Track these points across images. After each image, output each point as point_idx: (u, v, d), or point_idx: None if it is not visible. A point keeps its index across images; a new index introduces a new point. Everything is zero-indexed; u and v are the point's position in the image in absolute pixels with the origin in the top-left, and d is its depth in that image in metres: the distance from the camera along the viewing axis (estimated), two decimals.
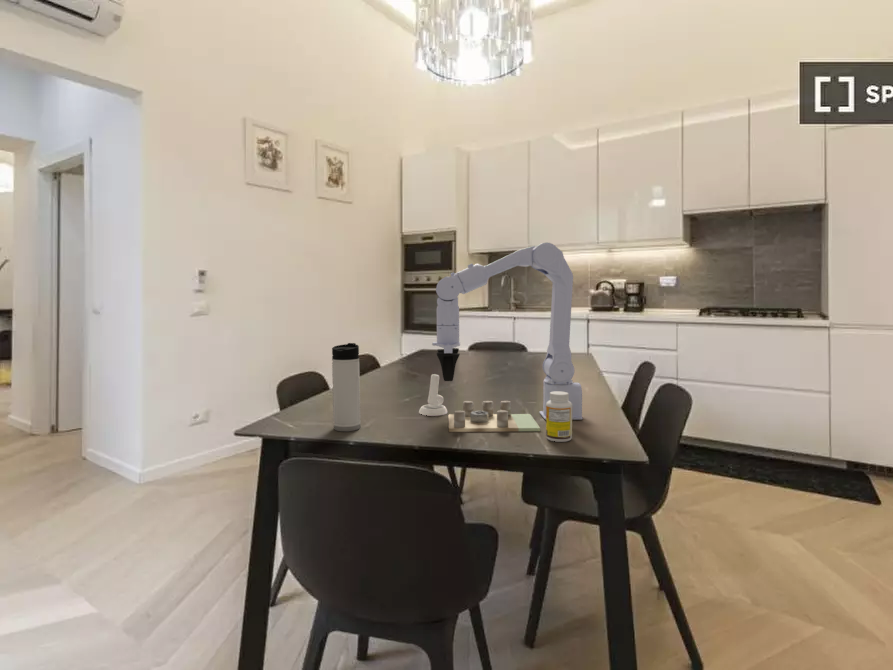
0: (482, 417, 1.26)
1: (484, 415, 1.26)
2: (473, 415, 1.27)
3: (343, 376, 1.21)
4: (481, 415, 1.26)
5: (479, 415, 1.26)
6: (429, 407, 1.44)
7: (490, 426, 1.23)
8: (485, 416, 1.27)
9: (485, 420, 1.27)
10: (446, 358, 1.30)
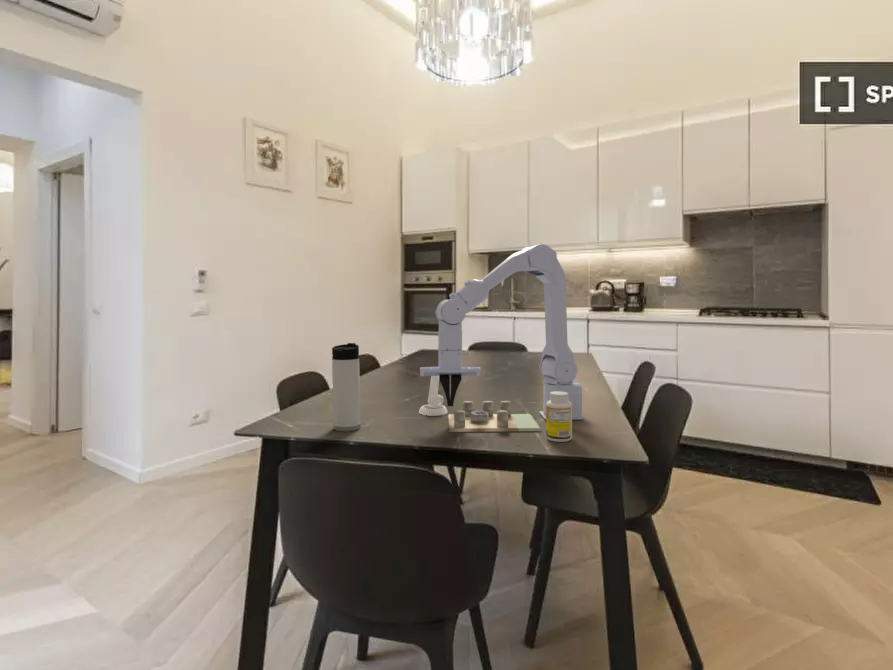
0: (482, 417, 1.26)
1: (484, 415, 1.26)
2: (473, 415, 1.27)
3: (343, 376, 1.21)
4: (481, 415, 1.26)
5: (479, 415, 1.26)
6: (429, 407, 1.44)
7: (490, 426, 1.23)
8: (485, 416, 1.27)
9: (485, 420, 1.27)
10: None
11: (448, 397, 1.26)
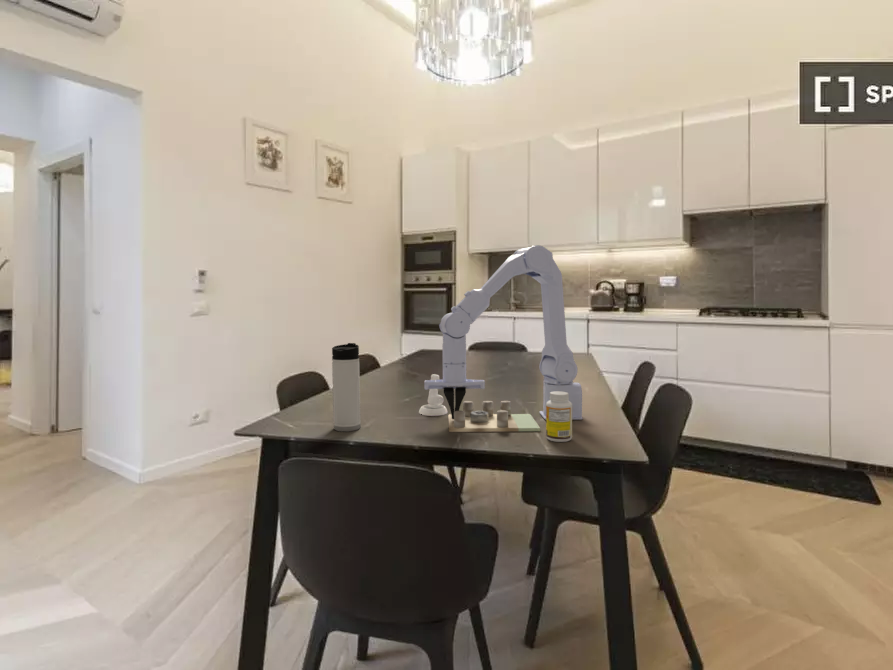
0: (482, 417, 1.26)
1: (484, 415, 1.26)
2: (473, 415, 1.27)
3: (343, 376, 1.21)
4: (481, 415, 1.26)
5: (479, 415, 1.26)
6: (429, 407, 1.44)
7: (490, 426, 1.23)
8: (485, 416, 1.27)
9: (485, 420, 1.27)
10: None
11: (452, 410, 1.27)
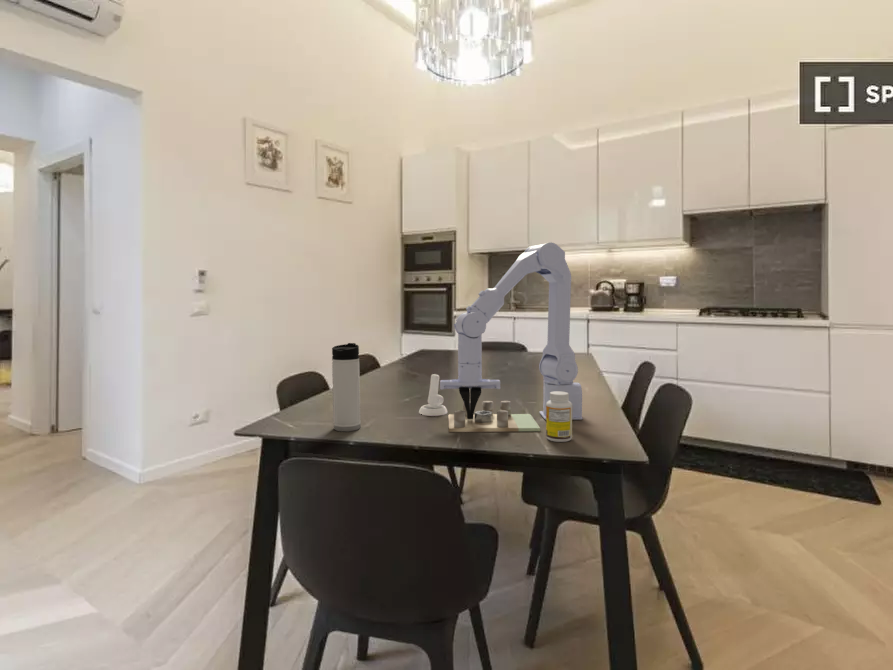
0: (486, 417, 1.26)
1: (488, 415, 1.26)
2: (477, 415, 1.27)
3: (343, 376, 1.21)
4: (485, 415, 1.26)
5: (483, 415, 1.26)
6: (429, 407, 1.44)
7: (490, 426, 1.23)
8: (489, 416, 1.27)
9: (489, 420, 1.27)
10: None
11: (468, 410, 1.27)
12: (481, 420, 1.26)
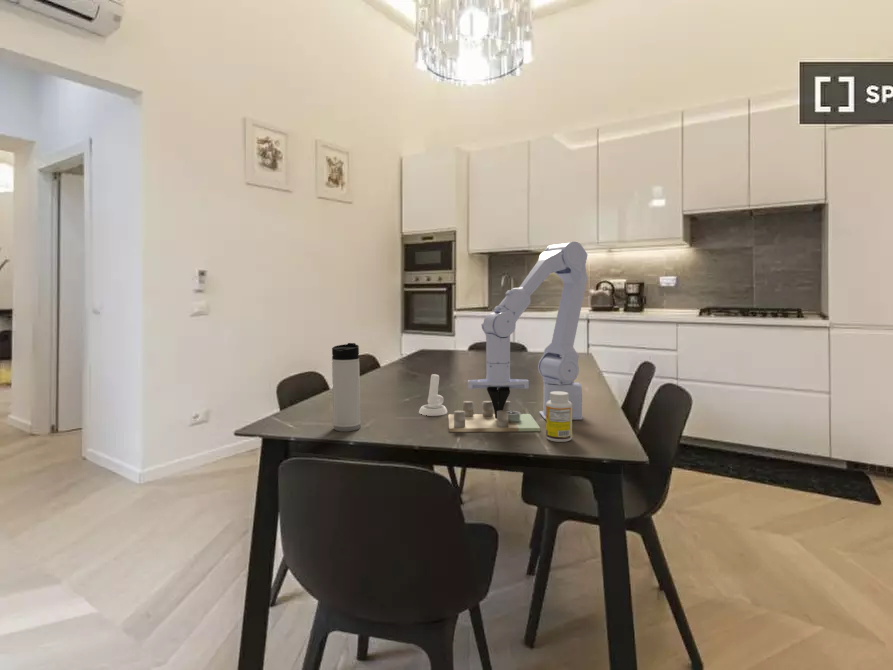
0: (515, 417, 1.26)
1: (517, 415, 1.26)
2: None
3: (343, 376, 1.21)
4: (514, 415, 1.26)
5: (512, 415, 1.26)
6: (429, 407, 1.44)
7: (490, 426, 1.23)
8: (518, 416, 1.27)
9: (518, 420, 1.27)
10: None
11: (496, 410, 1.27)
12: (510, 420, 1.26)
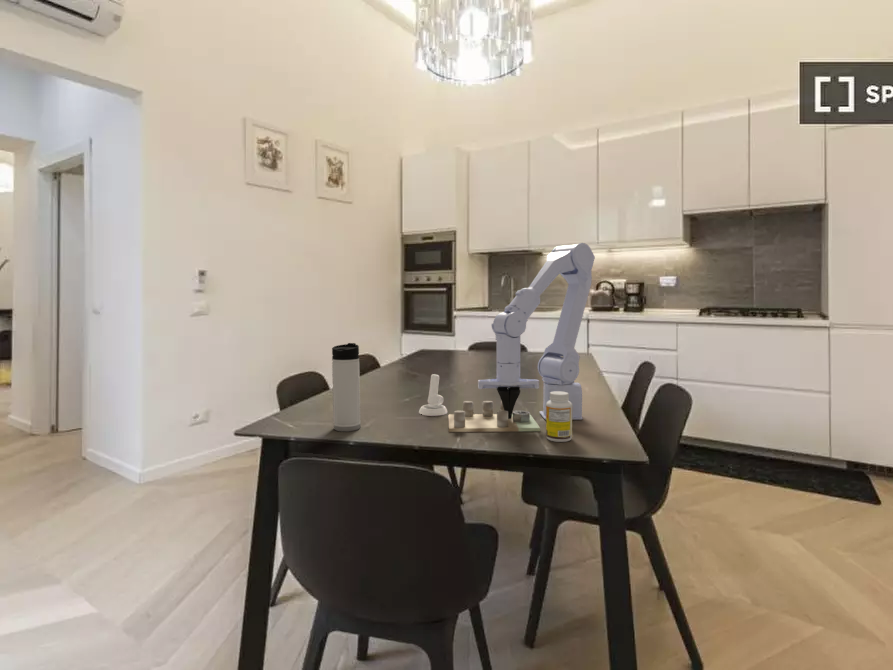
0: (525, 417, 1.27)
1: (527, 415, 1.27)
2: (516, 415, 1.27)
3: (343, 376, 1.21)
4: (524, 415, 1.26)
5: (522, 415, 1.26)
6: (429, 407, 1.44)
7: (490, 426, 1.23)
8: (528, 416, 1.27)
9: (528, 420, 1.27)
10: None
11: (507, 410, 1.27)
12: (520, 420, 1.26)
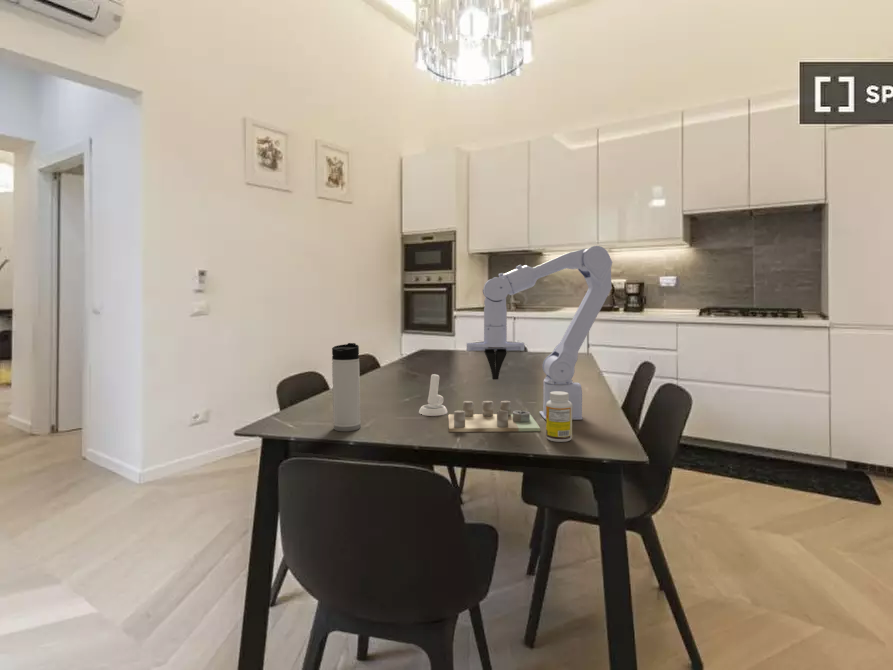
0: (525, 417, 1.27)
1: (527, 415, 1.27)
2: (516, 415, 1.27)
3: (343, 376, 1.21)
4: (524, 415, 1.26)
5: (522, 415, 1.26)
6: (429, 407, 1.44)
7: (490, 426, 1.23)
8: (528, 416, 1.27)
9: (528, 420, 1.27)
10: None
11: (494, 371, 1.33)
12: (520, 420, 1.26)
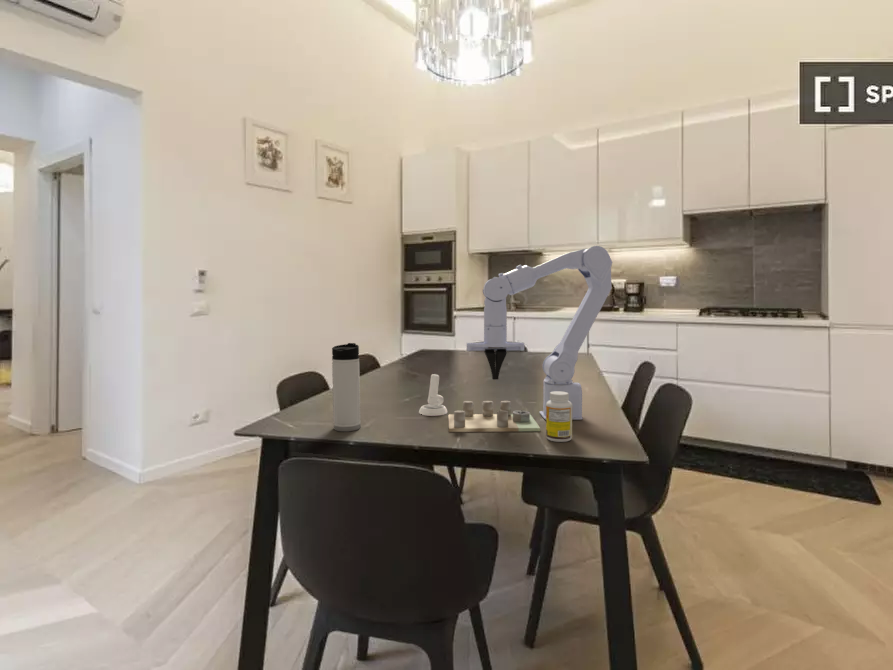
0: (525, 417, 1.27)
1: (527, 415, 1.27)
2: (516, 415, 1.27)
3: (343, 376, 1.21)
4: (524, 415, 1.26)
5: (522, 415, 1.26)
6: (429, 407, 1.44)
7: (490, 426, 1.23)
8: (528, 416, 1.27)
9: (528, 420, 1.27)
10: None
11: (494, 371, 1.33)
12: (520, 420, 1.26)
